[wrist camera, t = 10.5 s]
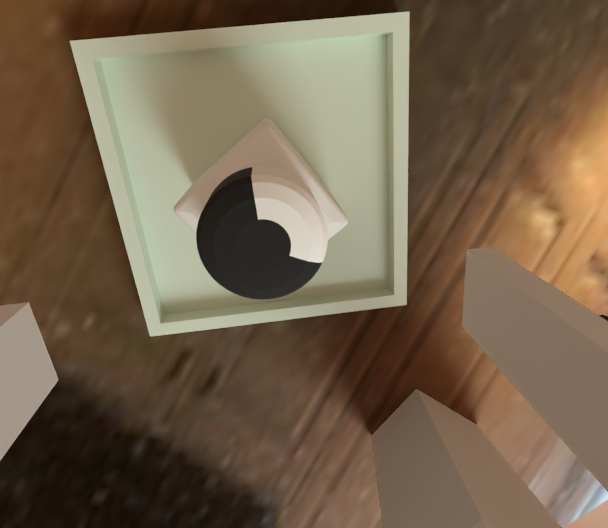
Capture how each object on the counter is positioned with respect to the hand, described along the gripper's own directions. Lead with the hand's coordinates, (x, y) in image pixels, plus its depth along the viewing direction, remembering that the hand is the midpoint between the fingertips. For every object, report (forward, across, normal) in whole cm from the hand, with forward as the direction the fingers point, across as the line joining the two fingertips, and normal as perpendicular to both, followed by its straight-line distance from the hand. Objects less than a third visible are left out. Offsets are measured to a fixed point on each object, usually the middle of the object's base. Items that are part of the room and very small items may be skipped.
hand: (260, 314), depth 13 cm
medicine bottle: (+18, 0, 0) cm, 18 cm away
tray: (+19, 0, 0) cm, 19 cm away
